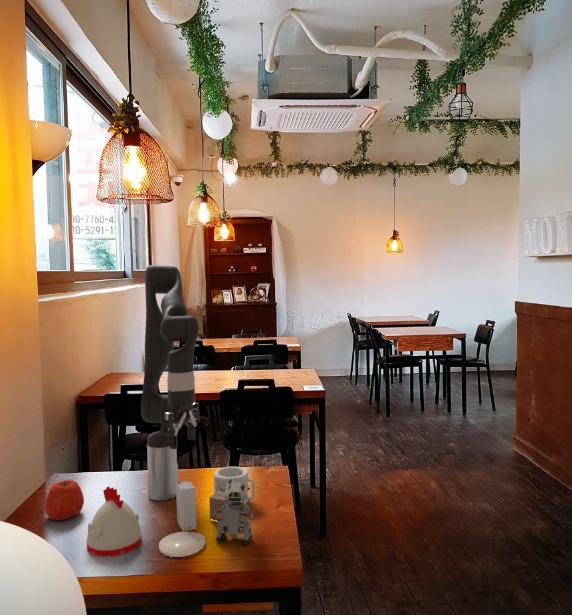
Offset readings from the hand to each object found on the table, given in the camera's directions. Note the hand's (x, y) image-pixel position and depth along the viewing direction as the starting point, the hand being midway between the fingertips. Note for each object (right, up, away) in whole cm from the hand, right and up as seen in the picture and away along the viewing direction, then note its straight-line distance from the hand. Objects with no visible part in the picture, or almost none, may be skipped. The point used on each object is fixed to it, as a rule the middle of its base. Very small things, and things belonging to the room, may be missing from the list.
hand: (182, 444), depth 149 cm
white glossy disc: (+2, -25, -9) cm, 26 cm away
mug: (+13, -24, +18) cm, 32 cm away
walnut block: (+10, -24, +7) cm, 27 cm away
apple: (-37, -24, +10) cm, 45 cm away
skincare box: (+1, -24, +2) cm, 24 cm away
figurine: (+16, -25, -4) cm, 29 cm away
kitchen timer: (-17, -25, -7) cm, 31 cm away
